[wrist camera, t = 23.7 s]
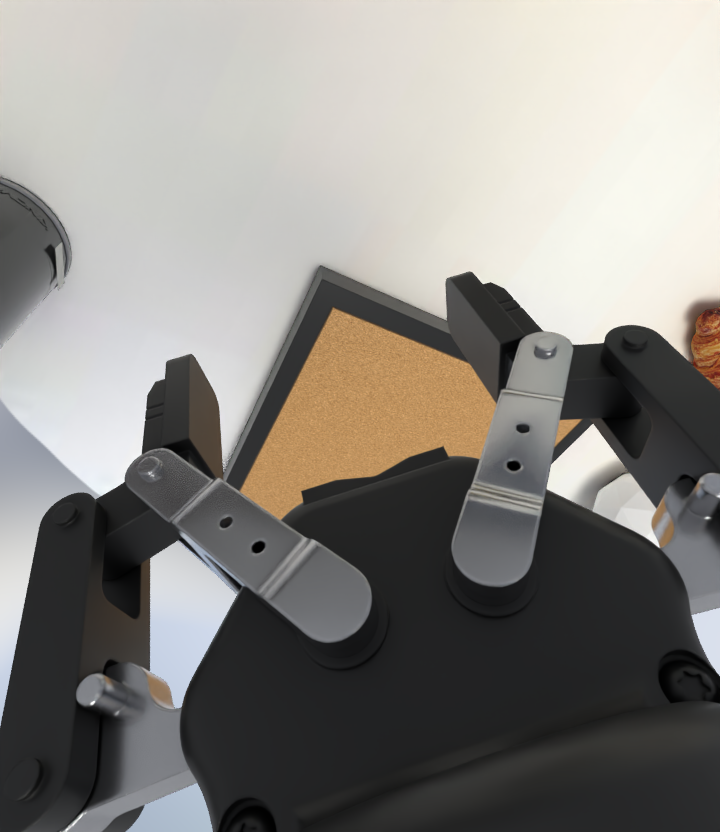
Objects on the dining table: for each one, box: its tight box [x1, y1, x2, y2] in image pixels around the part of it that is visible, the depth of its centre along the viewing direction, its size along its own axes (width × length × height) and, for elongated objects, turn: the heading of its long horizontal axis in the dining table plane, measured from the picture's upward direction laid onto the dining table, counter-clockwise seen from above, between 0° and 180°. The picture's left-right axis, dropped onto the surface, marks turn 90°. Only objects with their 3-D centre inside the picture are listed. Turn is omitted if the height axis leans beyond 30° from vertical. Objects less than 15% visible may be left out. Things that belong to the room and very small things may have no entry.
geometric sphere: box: [592, 473, 660, 548], centre depth 62 cm, size 14×15×15 cm
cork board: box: [223, 266, 593, 520], centre depth 57 cm, size 36×3×35 cm
